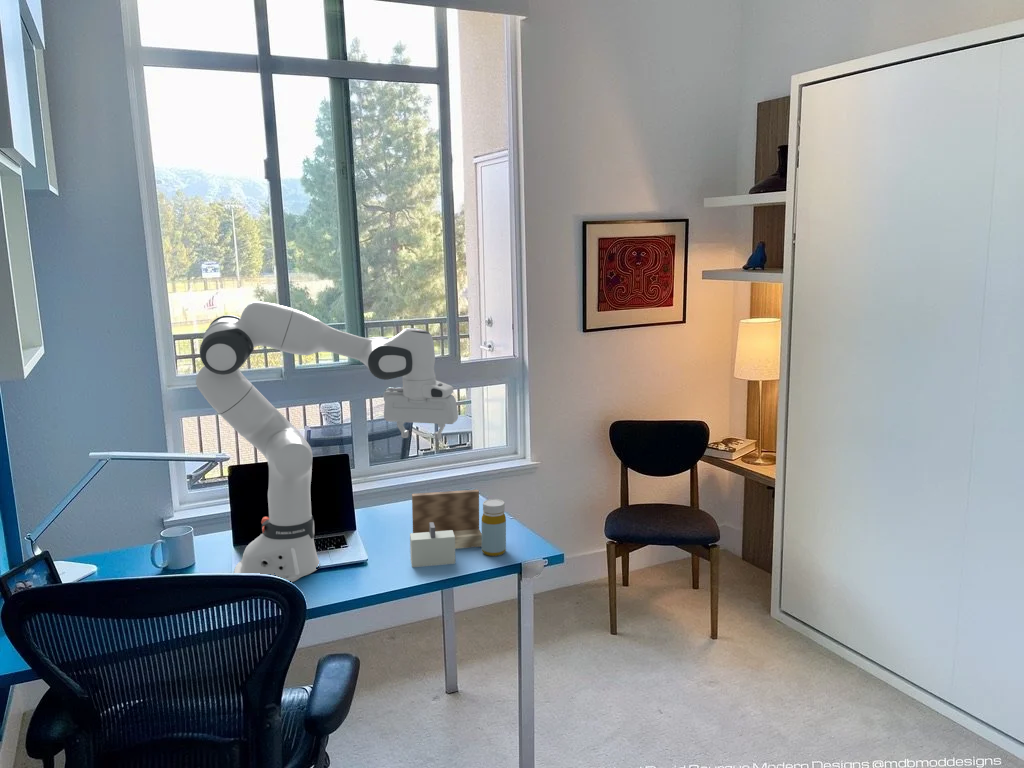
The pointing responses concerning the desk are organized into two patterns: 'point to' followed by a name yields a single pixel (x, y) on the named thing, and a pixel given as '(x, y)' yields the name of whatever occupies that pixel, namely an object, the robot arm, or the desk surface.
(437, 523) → the wall board
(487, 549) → the bottle
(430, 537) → the white knobbed block
